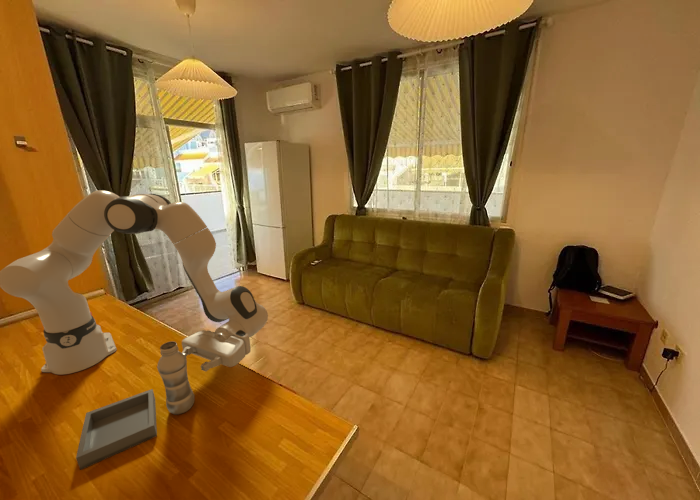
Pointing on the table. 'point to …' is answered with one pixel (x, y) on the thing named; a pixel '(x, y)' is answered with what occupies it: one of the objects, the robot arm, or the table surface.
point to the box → (117, 428)
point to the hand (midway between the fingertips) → (190, 364)
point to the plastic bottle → (175, 379)
